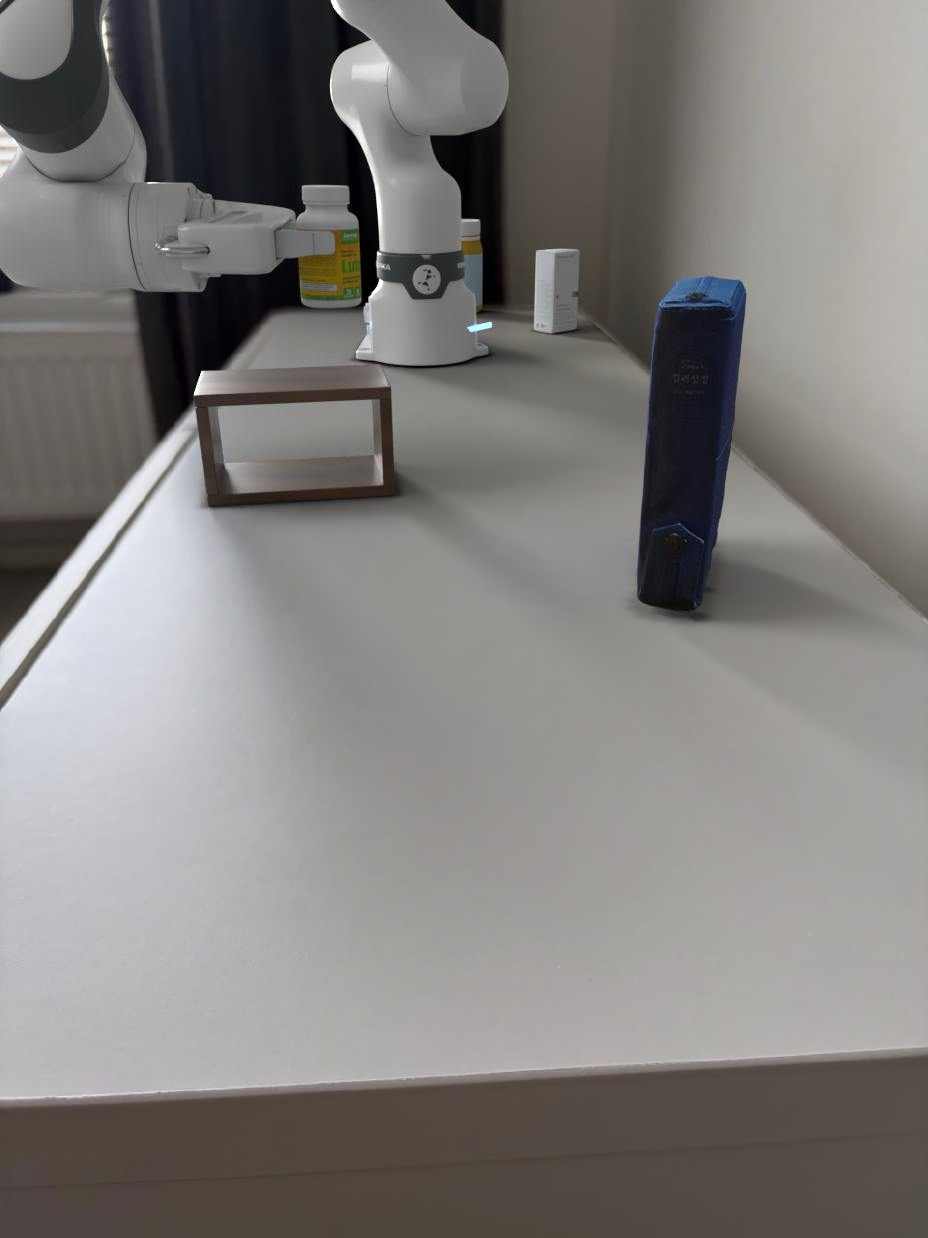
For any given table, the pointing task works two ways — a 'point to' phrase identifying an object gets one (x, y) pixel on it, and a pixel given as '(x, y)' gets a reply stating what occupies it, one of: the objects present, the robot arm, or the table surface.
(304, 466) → the shelf
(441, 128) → the robot arm
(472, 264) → the bottle
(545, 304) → the cosmetic box
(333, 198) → the supplement bottle
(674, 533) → the book
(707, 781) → the table surface
